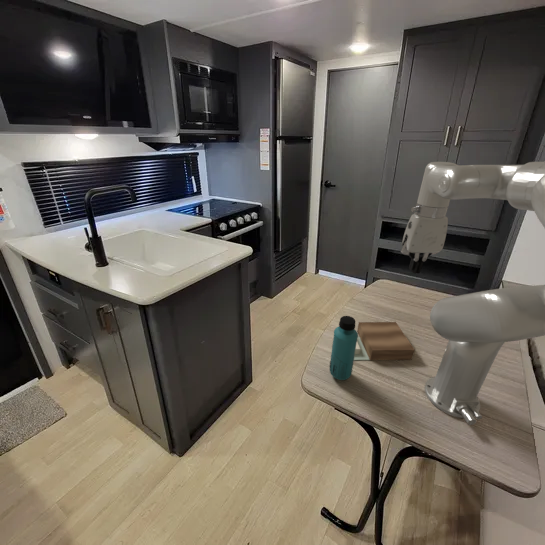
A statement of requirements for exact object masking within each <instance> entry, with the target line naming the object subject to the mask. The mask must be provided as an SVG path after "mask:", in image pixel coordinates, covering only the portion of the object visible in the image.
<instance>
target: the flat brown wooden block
mask: <svg viewBox="0 0 545 545" xmlns="http://www.w3.org/2000/svg"><path fill="white" fill-rule="evenodd" d="M356 331H357V333H358V336H359V337H360V339H361V342H362V344H363V346H364V348H365V350H366V353H367V355H368V357H369V359H370V360H369V361H411V360H413V357H414V353H415V352H416V351H415V348H414V347H413V345H412V344H411V342H410V341H409V339H408V338H407V337H406V334H405V333H404V332H403V330H402V329H401V328H400V326H399V324H398V323H397V322H396V321H373V322H371V321H370V322H369V321H368V322H367V321H363V322H362V321H361V322H360V321H359V322H358V326H357V330H356Z"/></svg>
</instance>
